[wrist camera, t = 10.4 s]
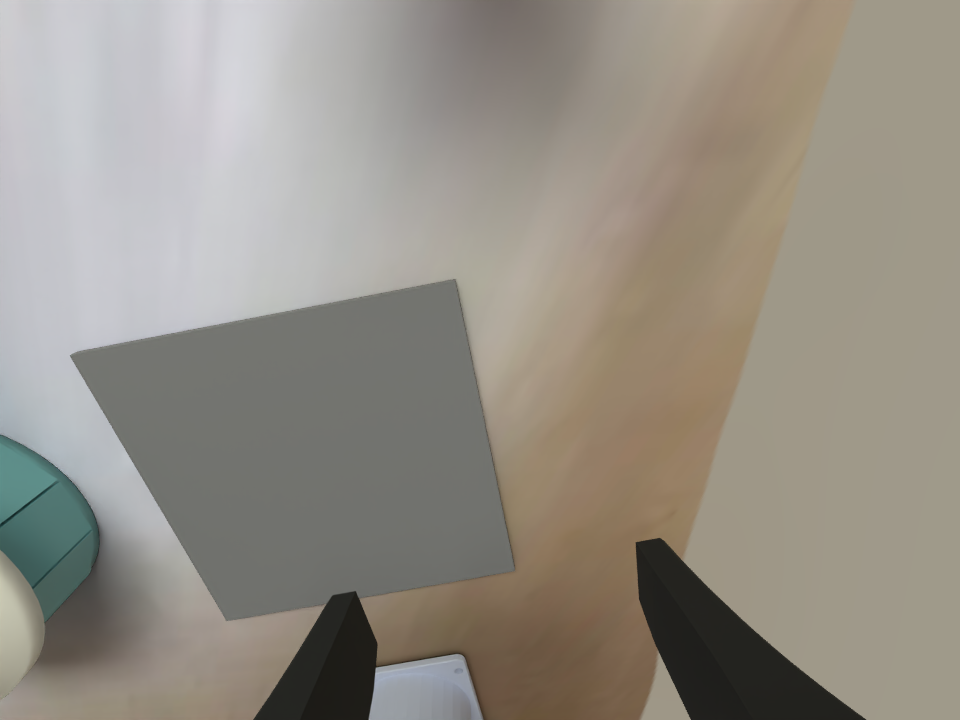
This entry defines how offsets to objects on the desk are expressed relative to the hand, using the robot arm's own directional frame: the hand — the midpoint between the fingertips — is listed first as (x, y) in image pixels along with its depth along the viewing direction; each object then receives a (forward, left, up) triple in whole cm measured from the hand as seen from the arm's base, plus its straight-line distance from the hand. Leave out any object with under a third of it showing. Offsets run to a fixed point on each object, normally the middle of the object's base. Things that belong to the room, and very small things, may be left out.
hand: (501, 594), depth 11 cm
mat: (-2, +8, -10) cm, 13 cm away
